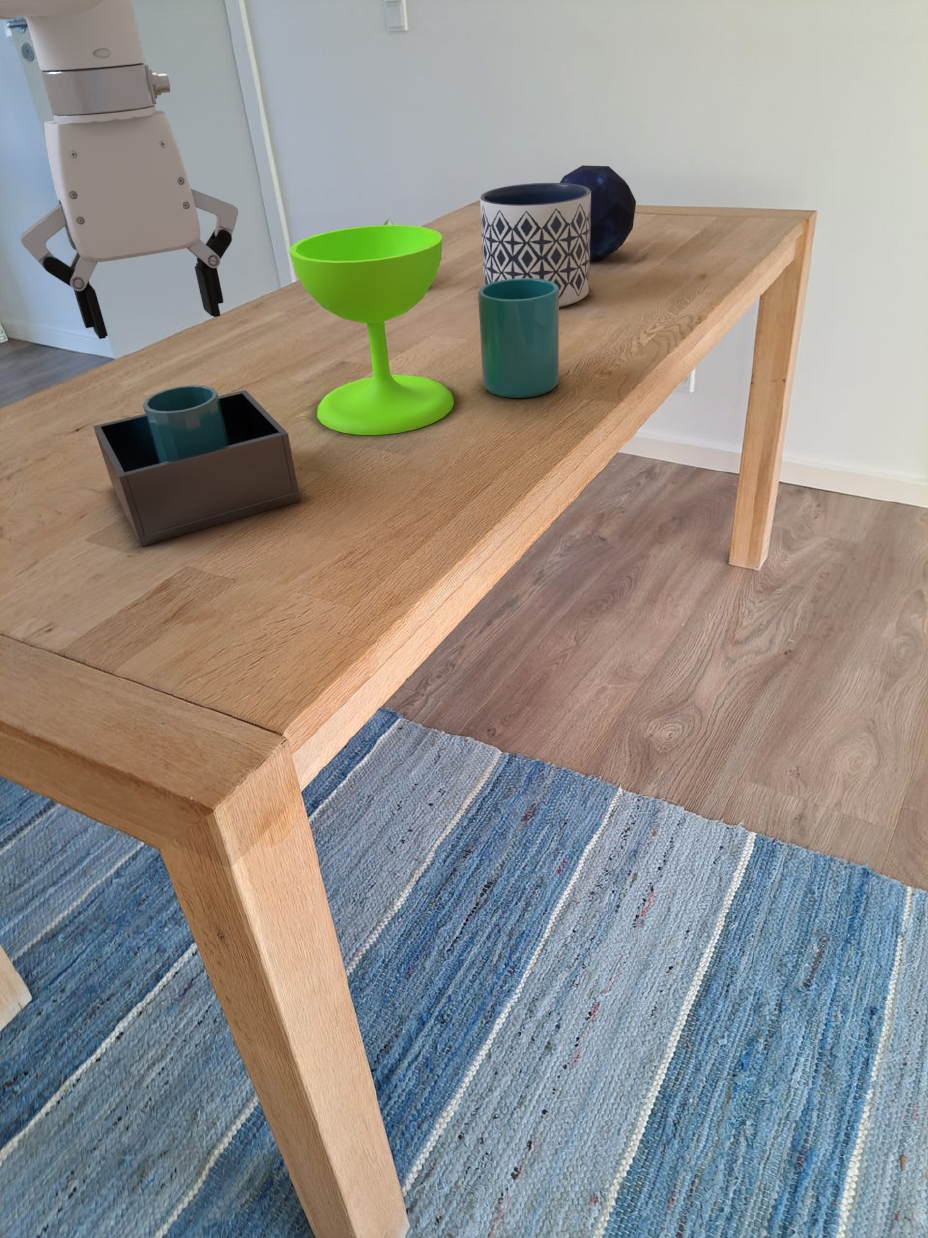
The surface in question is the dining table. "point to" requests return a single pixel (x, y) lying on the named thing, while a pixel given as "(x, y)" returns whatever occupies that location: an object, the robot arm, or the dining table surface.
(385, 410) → the wineglass
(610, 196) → the decorative orb
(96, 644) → the dining table surface
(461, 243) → the dining table surface
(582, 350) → the dining table surface
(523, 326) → the cup
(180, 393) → the tumbler
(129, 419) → the grey open box
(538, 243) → the planter
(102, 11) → the robot arm
